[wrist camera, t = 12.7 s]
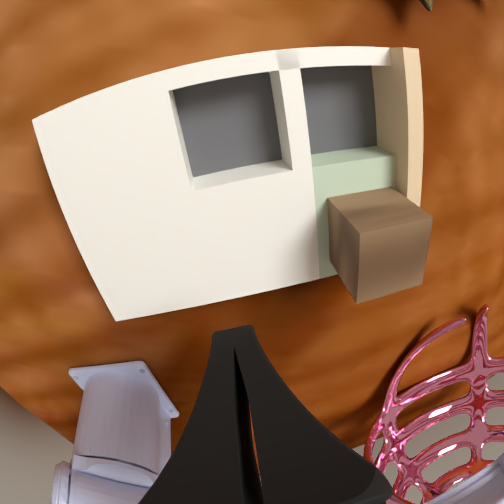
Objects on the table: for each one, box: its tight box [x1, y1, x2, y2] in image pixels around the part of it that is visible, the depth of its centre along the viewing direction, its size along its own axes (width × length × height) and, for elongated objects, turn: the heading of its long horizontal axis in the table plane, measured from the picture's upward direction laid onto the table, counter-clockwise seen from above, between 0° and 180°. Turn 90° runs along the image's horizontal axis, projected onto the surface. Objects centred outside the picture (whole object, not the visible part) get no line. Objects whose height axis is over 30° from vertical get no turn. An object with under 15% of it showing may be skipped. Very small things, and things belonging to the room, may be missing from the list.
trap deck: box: [32, 46, 423, 321], centre depth 16 cm, size 13×19×4 cm
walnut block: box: [327, 187, 433, 304], centre depth 16 cm, size 4×4×4 cm
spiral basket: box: [363, 304, 504, 504], centre depth 21 cm, size 28×28×27 cm
